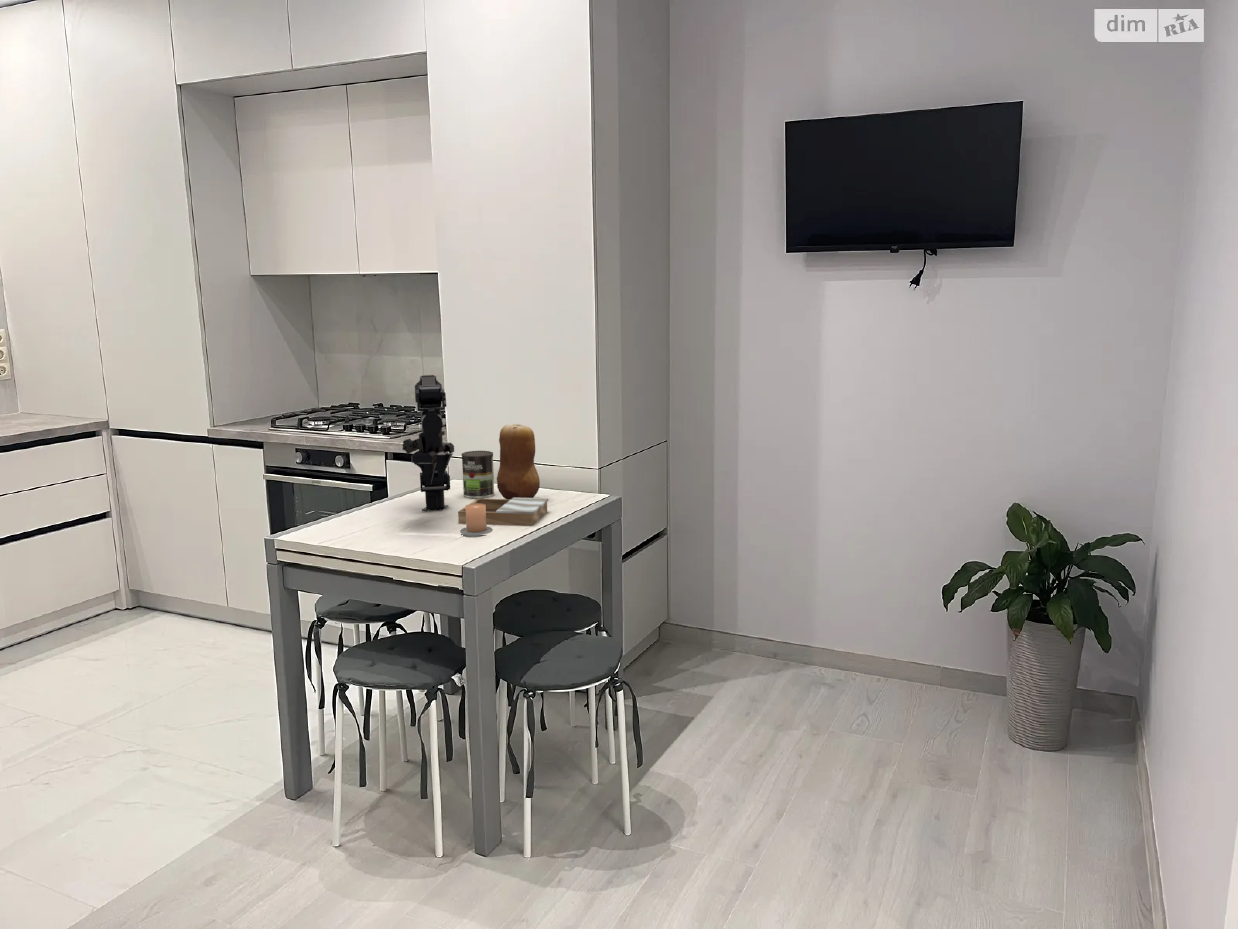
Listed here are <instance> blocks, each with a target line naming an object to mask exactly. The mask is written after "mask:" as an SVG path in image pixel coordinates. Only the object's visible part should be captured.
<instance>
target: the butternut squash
mask: <svg viewBox="0 0 1238 929" xmlns="http://www.w3.org/2000/svg"><path fill="white" fill-rule="evenodd" d="M498 442H499V468H498V471H497V476H496V484H497V485H496V487H497V490H498V492H499V494H501V497H503V499H512V498H535V496H536V495H537V493H538V492H539V490H540V476H539V473H538V470H537V468H536V466H535V455H536V438H535V433H534V431H533V429H532V428H531V427H529V426H527V425H523V424H520V423H513V424H505V425H504V426H502V428H501V429H500V431H499V438H498Z"/></svg>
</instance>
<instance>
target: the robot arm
mask: <svg viewBox="0 0 1238 929" xmlns="http://www.w3.org/2000/svg"><path fill="white" fill-rule="evenodd" d="M414 394H415V395H414V398H415V399H414V400H415V403H416V405H417V412H419V413H420V415H421V416H420V418H421V420H420V421H421V432H420V433H419V434H418V438H415V439H414V440H412V439H411V438H407V439H405V440H403V442H402V448H401V449H402V451H405V453H406V455H409V454H411V453H413V454H411V456H410V458H411V460H410V462H411V463H413V464H414V465H415V466H417V467H418V468H419V469H420V471H421V472H419V481H420V482H419V483H420V492H421V493H424V494H425V507H424V508H422V509H421V512H429V511H439V512H440V511H443V510H445V509H446V508H448V507H449V505H447V504H445V491H449V490H451V475H450V474H449V473H448V470H447V468H448V466H449V463H450V461H451V458H452V456H453V455H454V454H453V453H454V452H455V445H454V444H453V443H452V442H443V440H444V439H443V436H445V435H446V434H445V432H446V431H445V430H443V424H444V422H443V419H442V412H441V411H445V408H446V407H447V398H446V397H447V396H446V394H447V393H446V392H445V390H444V388H443V384H441V382H439V381H438V380H437V375H434V374H428V375H427V374H426V375H420V376H419V380H418V382H417V383H416V384H414Z"/></svg>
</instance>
